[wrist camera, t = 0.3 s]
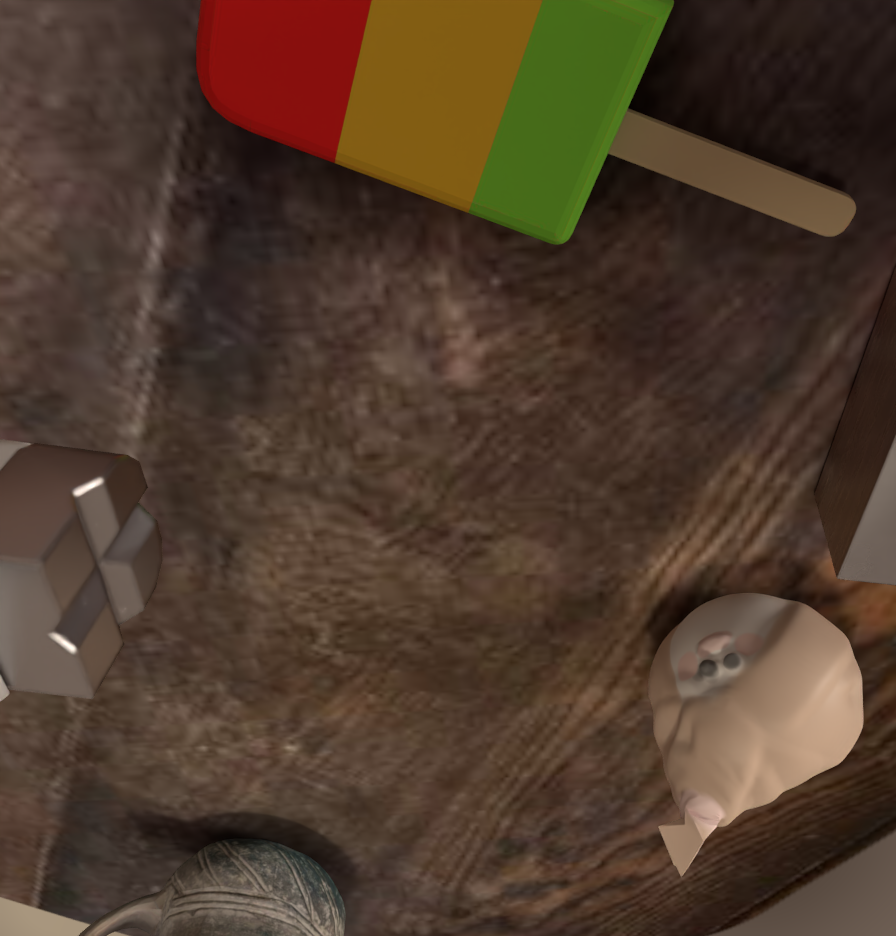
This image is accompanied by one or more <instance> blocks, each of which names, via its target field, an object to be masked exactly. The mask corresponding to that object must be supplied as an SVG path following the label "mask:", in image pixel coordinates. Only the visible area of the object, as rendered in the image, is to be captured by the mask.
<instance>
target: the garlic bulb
mask: <svg viewBox="0 0 896 936" xmlns="http://www.w3.org/2000/svg"><path fill="white" fill-rule="evenodd" d="M648 695H649V699H650V703H651V705H652V708H653V716H654V724H653V731H654V735H655V738H656V741H657V744H658V746H659V748H660V750H661V752H662V754H663V765H664V770H665V774H666V777H667V780H668V782H669V784H670V786H671V790H672V795H673V798H674V801H675V803H676V804H677V806H678V807H679V808H680V816H681V819H679V820H676V821H673V822H670V823H667V824H664V825H661V826H658V827H659V830H660V832H661V835H662V837H663V839H664V842H665V844H666V847H667V849H668V852H669V854H670V857H671V859H672V862H673V864H674V866H677V869H678V871H679V873H680V875H681V877H682V876H683V874H684V873H685V871H686V870H687V868H688V867H689V865H690V864H691V862H692V861H693V859H694V858H695V856H696V855H697V853H698V851H699V849H700V847H701V845H702V844H703V842H704V840H705V839H706V838H707V837H708V836H709V835H710V833H711V832H712V831H713V830H714V829H715V828H716V827H717V826H719V827H722V826H726V825H728V824H729V823H730V822H732V821H733V820H734V819H735V818H736V817H737V816H738V815H739V814H741V813H742V812H743V811H745V810H747V809H751V808H755V807H758V806H762V805H765V804H768V803H770V802H772V801H774V800H775V799H776V798H777V797H778V796H779V795H780V794H781V793H782V792H784V791H786V790H788V789H791V788H793V787H795V786H797V785H799V784H801V783H803V782H805V781H807V780H808V779H810V778H811V777H813V776H815V775H817V774H819V773H821V772H823V771H825V770H827V769H830V768H832V767H834V766H836V765H838V764H839V763H840V762H842V761H843V759H844V758H845V757H846V756H847V754H848V753H849V752H850V750H851V749H852V747H853V746H854V744H855V742H856V741H857V739H858V737H859V735H860V733H861V730H862V727H863V696H862V677H861V672H860V669H859V667H858V664H857V662H856V660H855V658H854V655H853V651H852V648H851V645H850V643H849V640H848V639H847V637H846V636H845V635H844V634H843V633H842V632H841V631H840V630H839V629H838V628H837V627H836V626H834V625H833V624H832V623H831V622H829V621H828V620H827V619H826V618H824V617H823V616H822V615H820V614H819V613H818V612H816V611H815V610H814V609H812V608H811V607H809V606H807V605H806V604H803V603H801V602H797V601H792V600H785V599H781V598H778V597H774V596H770V595H765V594H759V593H736V594H730V595H725V596H722V597H718V598H715V599H713V600H710V601H708V602H706V603H704V604H702V605H701V606H699V607H697V608H696V609H695V610H693V611H692V612H691V613H690V614H689V615H688V616H687V617H686V618H685V619H684V620H683V621H682V622H681V623H680V624H678V625H677V626H676V627H675V628H674V629H673V630H672V631H671V632H670V633H669V634H668V635H667V636H666V638H665V639H664V640H663V642H662V643H661V645H660V646H659V648H658V650H657V653H656V655H655V657H654V660H653V663H652V666H651V670H650V674H649V681H648Z"/></svg>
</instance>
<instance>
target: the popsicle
mask: <svg viewBox="0 0 896 936" xmlns="http://www.w3.org/2000/svg"><path fill="white" fill-rule="evenodd" d="M673 5H674V1H673V0H201V4H200V14H199V23H198V32H197V41H196V68H197V73H198V78H199V82H200V86H201V90H202V92H203V94H204V95H205V97H206V98H207V100H208V102H209V103H210V105H211V106H212V108H213V109H215V110H216V111H217V112H218V113H219V114H221V115H222V116H223V117H224V118H225V119H227V120H228V121H230V122H232V123H234V124H236V125H238V126H240V127H242V128H244V129H246V130H248V131H250V132H253V133H255V134H258V135H261V136H263V137H266V138H269V139H271V140H274V141H277V142H279V143H282V144H285V145H287V146H290V147H293V148H296V149H298V150H301V151H304V152H306V153H309V154H312V155H314V156H317V157H320V158H322V159H325V160H328V161H330V162H333V163H336V164H338V165H341V166H344V167H347V168H349V169H352V170H355V171H357V172H360V173H363V174H365V175H368V176H371V177H373V178H376V179H379V180H381V181H384V182H387V183H389V184H392V185H395V186H397V187H400V188H403V189H406V190H408V191H411V192H414V193H416V194H419V195H422V196H424V197H427V198H430V199H432V200H435V201H438V202H440V203H443V204H446V205H448V206H451V207H454V208H457V209H459V210H462V211H465V212H467V213H470V214H473V215H475V216H478V217H481V218H483V219H486V220H489V221H491V222H494V223H497V224H500V225H502V226H505V227H508V228H510V229H513V230H516V231H518V232H521V233H524V234H526V235H529V236H532V237H534V238H537V239H540V240H542V241H545V242H548V243H551V244H556V245H557V244H563V243H565V242H566V241H567V240H569V238H570V236H571V235H572V233H573V231H574V229H575V227H576V224H577V222H578V220H579V217H580V215H581V213H582V211H583V208H584V206H585V204H586V202H587V199H588V197H589V195H590V193H591V190H592V188H593V186H594V184H595V181H596V179H597V177H598V175H599V172H600V170H601V168H602V166H603V163H604V161H605V159H606V156H607V154H611V155H613V156H616V157H619V158H621V159H624V160H626V161H629V162H632V163H634V164H637V165H639V166H642V167H645V168H647V169H650V170H652V171H655V172H658V173H660V174H663V175H666V176H668V177H671V178H673V179H676V180H679V181H681V182H684V183H686V184H689V185H692V186H694V187H697V188H699V189H702V190H705V191H707V192H710V193H712V194H715V195H718V196H720V197H723V198H726V199H728V200H731V201H733V202H736V203H739V204H741V205H744V206H746V207H749V208H752V209H754V210H757V211H759V212H762V213H765V214H767V215H770V216H772V217H775V218H778V219H780V220H783V221H785V222H788V223H791V224H793V225H796V226H799V227H801V228H804V229H806V230H809V231H812V232H814V233H817V234H819V235H823V236H827V237H830V236H836V235H838V234H840V233H841V232H843V231H844V230H845V229H846V227H847V226H848V225H849V223H850V222H851V220H852V219H853V217H854V215H855V212H856V205H855V202H854V201H853V199H852V198H851V197H850V195H848V194H846V193H844V192H842V191H840V190H837V189H835V188H832V187H829V186H827V185H824V184H822V183H819V182H817V181H814V180H811V179H809V178H806V177H804V176H801V175H799V174H796V173H793V172H791V171H788V170H786V169H783V168H781V167H778V166H775V165H773V164H770V163H768V162H765V161H763V160H760V159H757V158H755V157H752V156H750V155H747V154H744V153H742V152H739V151H737V150H734V149H732V148H729V147H726V146H724V145H721V144H719V143H716V142H714V141H711V140H708V139H706V138H703V137H701V136H698V135H696V134H693V133H690V132H688V131H685V130H683V129H680V128H678V127H675V126H672V125H670V124H667V123H665V122H662V121H660V120H657V119H654V118H652V117H649V116H647V115H644V114H642V113H639V112H636V111H634V110H631V109H629V108H628V107H629V105H630V102H631V100H632V98H633V95H634V93H635V91H636V89H637V86H638V84H639V82H640V80H641V77H642V75H643V73H644V71H645V68H646V66H647V64H648V62H649V59H650V57H651V55H652V53H653V50H654V48H655V46H656V44H657V41H658V39H659V37H660V34H661V32H662V30H663V28H664V25H665V23H666V21H667V19H668V16H669V14H670V12H671V10H672V7H673Z"/></svg>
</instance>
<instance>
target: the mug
mask: <svg viewBox="0 0 896 936" xmlns="http://www.w3.org/2000/svg"><path fill="white" fill-rule="evenodd" d="M344 926H345V908H344V903H343V900H342V897H341V896H340V894H339V892H338V890H337V888H336V886H335V884H334V882H333V880H332V879H331V878H330V876H329V875H328V874H327V873H326V871H325V870H324V869H323V868H322V867H321V866H320V865H319V864H318V863H317V862H316V861H314V860H313V859H311V858H310V857H309V856H307V855H305V854H303V853H300V852H298V851H295V850H293V849H291V848H289V847H286V846H284V845H282V844H279V843H277V842H271V841H268V840H265V839H224V840H223V841H217V842H216V843H212V844H209V845H208V846H206V847H204V848H202V849H201V850H200V851H199V852H198V853H196V854H195V855H194V856H192V857H191V858H190V859H188V860H187V861H186V862H185V863H184V864H182V865H181V866H180V867H179V868H178V869H177V870H176V872H175V873H174V874H173V875H172V877H171V878H170V879H169V880H168V881H167V883H166V885H165V887H164V888H163V889H162V890H161V891H160V892H157V893H154V894H150V895H147V896H144V897H141V898H139V899H136V900H134V901H131V902H129V903H127V904H125V905H123V906H121V907H118V908H117V909H115V910H113V911H111V912H109V913H107V914H105V915H104V916H102V917H101V918H99V919H98V920H96V921H95V922H94V923H92V924H91V925H90V926H89V927H87V928H86V929H85V930H84V931H83V932H82V933H80V935H79V936H107V935H108V934H110V933H112V932H115V931H118V930H121V929H126V928H138V929H141V930H143V931H145V932H147V933H149V934H150V935H152V936H343V934H344Z"/></svg>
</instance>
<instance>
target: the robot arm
mask: <svg viewBox="0 0 896 936" xmlns="http://www.w3.org/2000/svg"><path fill="white" fill-rule="evenodd" d="M147 488H148V486H147V483H146V480H145V477H144V474H143V471H142V468H141V465H140V462H139V461H137V460H136V459H134V458H132V457H130V456H128V455H123V454H116V453H108V452H101V451H93V450H85V449H78V448H70V447H63V446H55V445H47V444H40V443H34V444H31V443H25V442H17V441H10V440H2V439H0V701H1V700H3V699H4V698H5V697H7V696H8V695H9V693H10V692H9V690H8V689H10V690H19V691H28V692H36V693H45V694H54V695H63V696H72V697H80V698H89V699H93V698H94V696H95V694H96V692H97V691H98V689H99V687H100V686H101V684H102V682H103V680H104V679H105V677H106V675H107V673H108V672H109V670H110V668H111V666H112V665H113V663H114V661H115V660H116V658H117V656H118V654H119V653H120V651H121V649H122V647H123V646H124V642H123V638H122V634H121V630H120V626H119V625H120V624H122V623H124V622H125V621H127V620H128V619H130V618H132V617H133V616H135V615H137V614H138V613H140V612H141V611H143V610H144V609H145V607H146V605H147V603H148V601H149V599H150V598H151V596H152V594H153V592H154V590H155V588H156V585H157V581H158V577H159V573H160V568H161V564H162V538H161V534H160V530H159V526H158V522H157V520H156V519H155V518H154V517H153V516H152V515H150V514H149V513H148V512H147V511H146V510H145V509H144V508H143V507H142V506H141V505H140V504H139V503H138V502H139V500H140V499H141V497H142V496H143V494H144V493H145V491H146V489H147Z"/></svg>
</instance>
